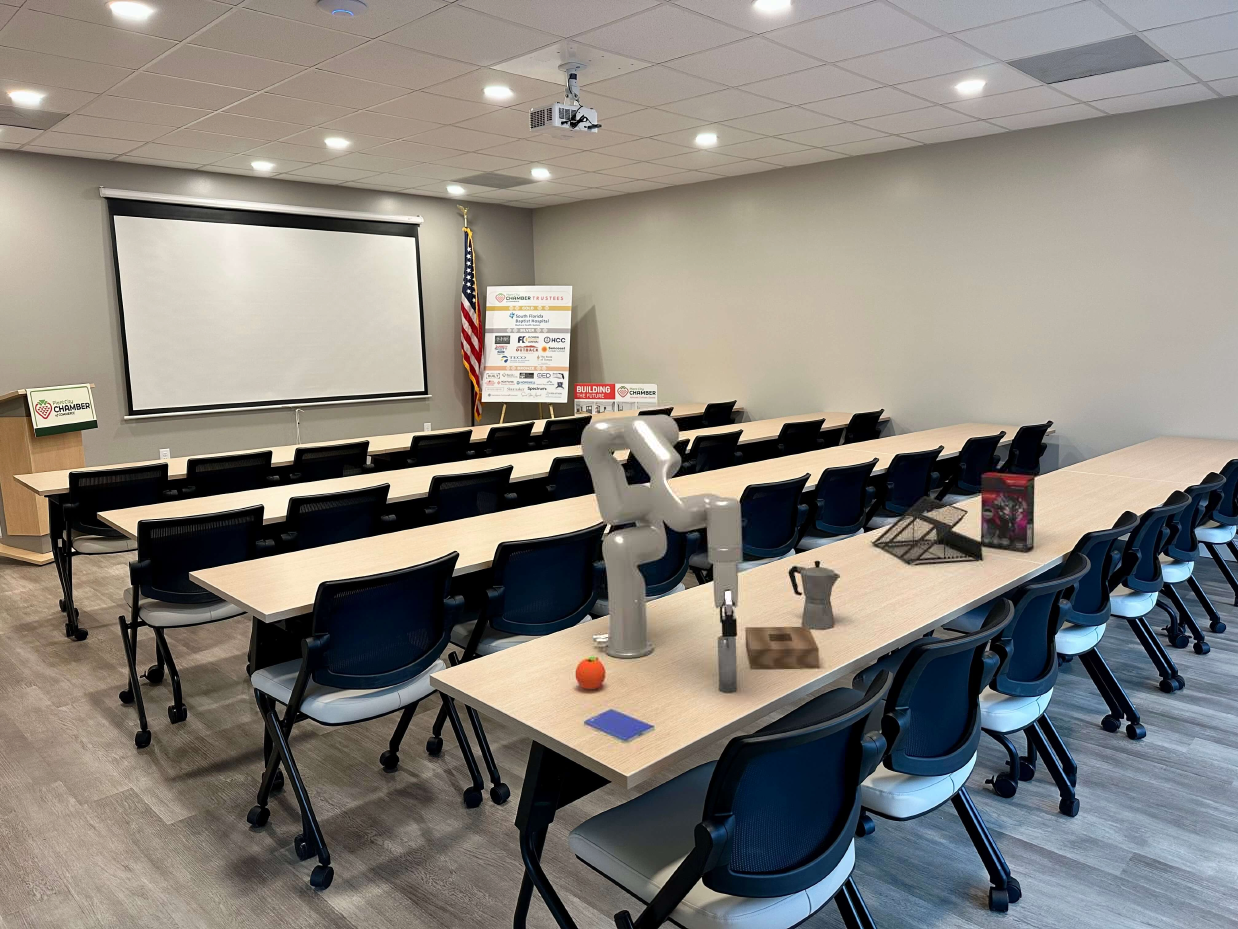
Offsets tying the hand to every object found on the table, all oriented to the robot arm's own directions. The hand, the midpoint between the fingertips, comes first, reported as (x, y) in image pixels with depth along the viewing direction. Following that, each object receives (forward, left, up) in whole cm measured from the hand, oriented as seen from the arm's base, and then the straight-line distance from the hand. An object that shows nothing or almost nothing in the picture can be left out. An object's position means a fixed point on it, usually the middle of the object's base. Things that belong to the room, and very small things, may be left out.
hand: (728, 629), depth 185 cm
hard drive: (-24, -19, -15) cm, 34 cm away
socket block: (+14, +20, -14) cm, 28 cm away
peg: (0, 0, -14) cm, 14 cm away
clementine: (-31, +2, -14) cm, 35 cm away
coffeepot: (+26, +45, -14) cm, 54 cm away
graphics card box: (+108, +128, -14) cm, 168 cm away
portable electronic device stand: (+77, +125, -15) cm, 147 cm away
